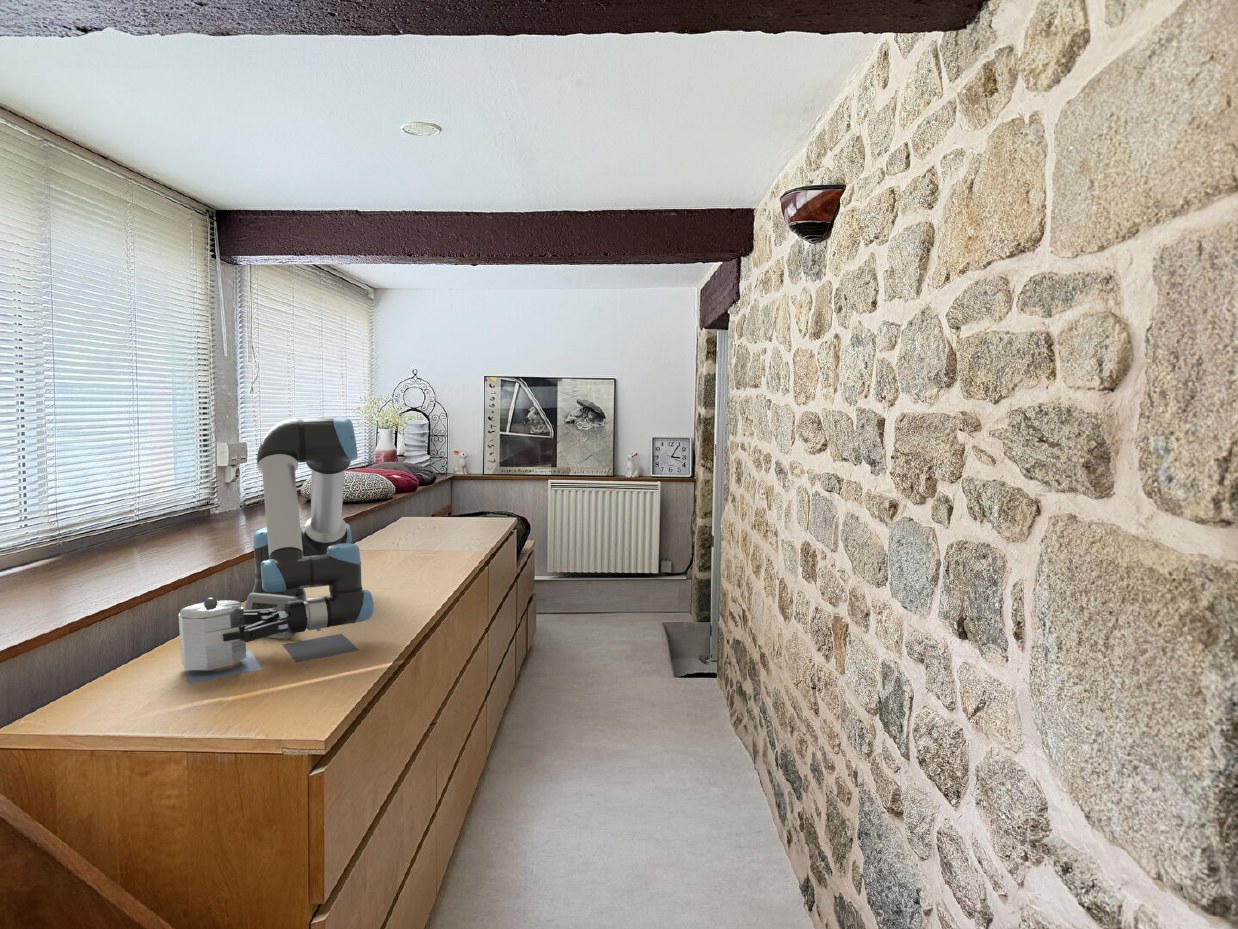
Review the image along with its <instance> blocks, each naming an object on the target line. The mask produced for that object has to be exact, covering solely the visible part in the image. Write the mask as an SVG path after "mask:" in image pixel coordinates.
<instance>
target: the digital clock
mask: <svg viewBox="0 0 1238 929" xmlns="http://www.w3.org/2000/svg"><path fill="white" fill-rule="evenodd" d="M296 600H298V598H297V597H293V596H287V595H279V594H268V593H252V592H250V593H248V595H247V598H246V601H245V606H244V610H258V609H270V608H277V611H284V610H285V604H286V603H287V602H290V601H296ZM247 626H249V625H245V627H247ZM292 636H293V634H290V633H288V631H286V632H281V633H277V634H274V635H270V636H267V637H264V638H265V639H266V638H268V639H274V640H283V641H284V640H289V639H290V640H291V637H292Z"/></svg>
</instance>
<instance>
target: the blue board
mask: <svg viewBox="0 0 1238 929" xmlns="http://www.w3.org/2000/svg"><path fill="white" fill-rule="evenodd" d="M256 658H257V657H256V656H255V654H254V653H253V651H252V650H251V649H250V650H246V658H244V659H243V660H241V661H239V665H237V666H235V667H233V668H231V669H225V670H220V671H206V670H186V669H185V668H184V670H185V674H186V677H187V680H188V683H189V684H195V683H199V682H204V681H211V680H214V679H219V678H226V677H230V676H231V677H232V676H236V675H240V674H244V673H250V672H255V671H260V669H261V670H263V668H262V666H261V665H260V663H259V661H258V659H256Z"/></svg>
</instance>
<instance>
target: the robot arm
mask: <svg viewBox="0 0 1238 929" xmlns="http://www.w3.org/2000/svg"><path fill="white" fill-rule="evenodd" d="M358 456H359V454H358V447H357V441H356V434H355V429H354V425H353V421H352V420H351V419H349V418H346V417H336V416H333V417H326V418H325V417H323V418H322V417H321V418H320V417H319V418H289V419H286V420H283V421H281V422H279V423H276V425H274V426H273V427H272V428H270V430H269V431H268V432H267V433H266V434H265V435H264V437H263V439H262V440H261V442H260V445H259V447H258V450H257V455H256V466H257V470H258V472H259V473H260V474H262V483H263V484H262V485H263V498H264V511H265V521H266V522H265V523H266V524H265V526H266V527H263V528H261V529H259V530H257V531H255V533H254V534H253V546H252V548H253V550H254V551H253V552H254V553H253V554H254V573H255V582H254V585H253V589H252V592H251V593H268V594H279V595H287V596H293V597H297V598H298V600H296V601H290V602H287V603H286V604H285V610H284V611H277V608H270V609H258V610H245V609H244V624H245V625H249V626H247V627H245V626H241V625H240V626H239V628H232V629H226V630H220V631H214V632H208V633H205V646H210V645H216V644H222V643H227V642H233V641H239V639H240V640H241V641H244V640H245V642H246V643H251V642H253V641H257V640H260V639H263V638H265V637H267V636H270V635H274V634H277V633H281V632H286V631H288V633H290V634H292V635H293V634H299V633H304V632H305V631H306V630H308V631H313V630H316V631H317V632H320V631H321V629H326V628H331V627H332V628H333V627H337V626H344V625H349V624H353V625H354V624H356V623H360V622H364V621H368V620H370V619H371V618H372V617H373V614H374V609H375V608H374V606H375V605H374V600H373V599H374V598H373V595H372V593H371V591H370V590H368V589H363V585H362V561H361V560H362V559H361V553H360V551H361V550H360V547H359V546H358V544H355V543H352V541H353V540H352V538H353V537H352V529H351V526H350V524H348V523H346V521H345V519H343V517H342V516H343V500H344V485H345V471H347V469H348V468H349V467H351V462H353V461H356V460H358ZM299 463H301V464H302V463H305V464H306V466H307V467H308V468H309V469H310V470H311V481H310V482H311V489H310V490H311V491H310V492H311V493H310V518H308V520H307V521H306V523H305V526H302V527H301V519H300V511H299V510H300V509H299V500H298V498H299V497H298V488H297V482H296V471H297V470H298V468H299ZM327 586H328V587H329V588H328V590H329V594H328V595H325V596H323V595H322V596H316V597H308V598H307V593H306V590H305V589H308V588H309V589H310V588H311V589H312V588H321V587H327ZM239 630H240V631H239Z"/></svg>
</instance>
